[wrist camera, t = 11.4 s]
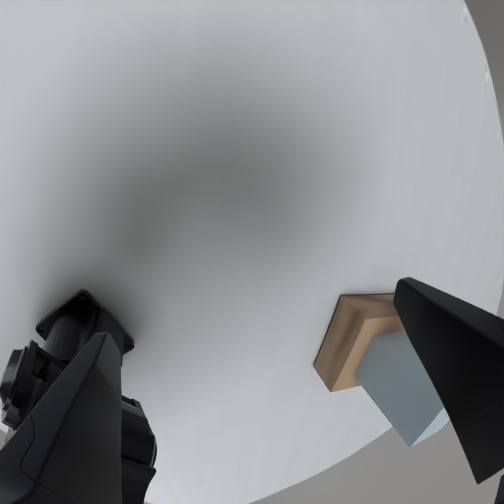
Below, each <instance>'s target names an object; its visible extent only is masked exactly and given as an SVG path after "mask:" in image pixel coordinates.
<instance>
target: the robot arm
mask: <svg viewBox="0 0 504 504" xmlns="http://www.w3.org/2000/svg"><path fill="white" fill-rule="evenodd" d="M81 296H84V297H85V299H83V298H81ZM393 304H394V307H395V309H396V312H397V314H398V316H399V318H400V320H401V322H402V325H403V327H404V329H405V331H406V334H407V336H408V338H409V340H410V342H411V344H412V346H413V348H414V350H415V352H416V353H417V355H418V357H419V359H420V361H421V363H422V364H423V366H424V368H425V370H426V372H427V374H428V376H429V378H430V380H431V382H432V384H433V385H434V387H435V389H436V391H437V393H438V395H439V397H440V399H441V402H442V404H443V406H444V408H445V410H446V412H447V414H448V416H449V418H450V420H451V422H452V425H453V427H454V429H455V431H456V434H457V436H458V438H459V441H460V443H461V446H462V448H463V450H464V453H465V455H466V458H467V460H468V463H469V465H470V467H471V470H472V473H473V475H474V478H475V480H476V483H477V484H480V483H481V482H483V481H485V480H486V479H488V478H489V477H491V476H493V475H494V474H496V473H497V472H499V471H500V470H502V469H503V468H504V319H502V318H500V317H498V316H495V315H494V314H492V313H489V312H487V311H485V310H483V309H481V308H479V307H476V306H474V305H472V304H470V303H468V302H465V301H463V300H461V299H459V298H457V297H454V296H452V295H450V294H448V293H445V292H443V291H441V290H439V289H436V288H434V287H432V286H430V285H427V284H425V283H423V282H420V281H418V280H416V279H413V278H411V277H406V278H402V279H400V280H399V281H398V282H397V285H396V289H395V293H394V297H393ZM40 328H42V329H43V330H41V329H40ZM36 331H37V333H38V334H39V335H40V336H41V337H42V338H43V339H44V340H45V341H46V342H45V345H44V348H43V349H42V348H40V347H39V346H38V344H37V343H36V342H34V341H33V340H31V341H30V343H29V345H28V347H26V346H25V347H24V349H22V350H13V352H12V354H11V357H10V359H9V361H8V364H7V366H6V369H5V372H4V374H3V377H2V381H1V384H0V397H1V399H2V402H3V403H2V423H4V424H5V425H7V426H9V429H8V433H7V437H6V440H5V446H4V447H3V448H2V449H1V450H0V504H143V503H144V498H145V494H146V491H147V488H148V486H149V483H150V482H151V480H152V478H153V477H154V475H155V473H156V469H155V468H153V466H154V463H155V460H156V455H157V445H156V438H155V436H154V434H153V432H152V430H151V428H150V426H149V424H148V420H147V418H146V416H145V414H144V412H143V410H142V407H141V405H140V402H139V401H136V400H134V399H129V398H127V397H125V396H123V395H122V391H121V367H122V359H123V355H124V354H125V353H127V352H129V351H130V350H132V349H133V348H134V341H133V339H132V338H130V337H129V336H128V335H127V334H126V333H125V332H124V329H123V328H122V327H121V326H120V325H119V323H118V322H117V321H116V320H115V319H114V318H113V317H112V316H111V315H110V314H109V313H108V312H107V311H106V310H105V309H103V308H101V307H100V306H99V304H98V303H97V302H96V301H95V300H94V299H93V298H92V297H91V296H90V294H89V293H88V292H86V291H84V290H81V291H79V292H77V293H76V294H75V295H74V296H72V297H71V298H70V299H68V300H67V301H66V302H64V303H63V304H62V305H60V306H59V307H58V308H57V309H55V310H54V311H53V312H51V313H50V314H49V315H48V316H46V317H45V318H44V319H43V320H41V321H40V322H39V323H38V324H37V326H36ZM127 343H129V344H130V345H127ZM494 504H504V474H503V475H502V476H501V479H500V484H499V488H498V492H497V496H496V499H495V503H494Z"/></svg>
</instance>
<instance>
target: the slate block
mask: <svg viewBox="0 0 504 504" xmlns="http://www.w3.org/2000/svg"><path fill="white" fill-rule="evenodd" d="M354 376H355V378H356V379H357V380H358V382H359V383H360V384H361V385H362V387H363V388H364V389H365V391H366V392H367V393H368V394H369V396H370V397H371V398H372V400H373V401H374V402H375V403H376V405H377V406H378V407H379V409H380V410H381V411H382V413H383V414H384V415H385V416H386V418H387V419H388V420H389V422H390V423H391V424H392V425H393V427H394V428H395V429H396V431H397V432H398V433H399V434H400V436H401V437H402V438H403V440H404V441H405V442H406V444H407V445H408V446H409V447H411V446H413V445H415V444H417V443H418V442H420V441H422V440H424V439H425V438H427V437H429V436H430V435H432V434H434V433H435V432H437V431H438V430H440V429H442V428H443V427H444V425H445V424H446V423H447V422H448V420H449V419H450V418H449V416H448V414H447V412H446V410H445V408H444V406H443V404H442V402H441V399H440V397H439V395H438V393H437V391H436V389H435V387H434V385H433V384H432V382H431V380H430V378H429V376H428V374H427V372H426V370H425V368H424V366H423V364H422V363H421V361H420V359H419V357H418V355H417V353H416V352H415V350H414V348H413V346H412V344H411V342H410V340H409V338H408V336H407V334H406V331H399V332H393V333H387V334H381V335H374V336H373V337H372V339H371V341H370V343H369V346H368V348H367V350H366V352H365V354H364V356H363V358H362V360H361V362H360V364H359V366H358V368H357V370H356V371H355V373H354Z"/></svg>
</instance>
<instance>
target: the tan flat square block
mask: <svg viewBox="0 0 504 504" xmlns="http://www.w3.org/2000/svg"><path fill="white" fill-rule="evenodd" d="M393 297H394V294H382V295H350V296H341V298H340V300H339V303H338V306H337V309H336V311H335V314H334V317H333V319H332V322H331V325H330V327H329V330H328V332H327V335H326V338H325V340H324V343H323V345H322V348H321V350H320V352H319V355H318V357H317V360H316V362H315V364H314V368H315V370H316V371H317V373H318V374H319V376H320V377H321V379H322V380H323V382H324V383H325V385H326V386H327V388H328V389H329V391H330V392H334V391H339V390H343V389H347V388H352V387H356V386H360V385H361V384H360V383H359V382H358V380H357V379H356V378H355V376H354V373H355V371H356V370H357V368H358V366H359V364H360V362H361V360H362V358H363V356H364V354H365V352H366V350H367V348H368V346H369V343H370V341H371V339H372V337H373V336H374V335H381V334H387V333H393V332H399V331H405V329H404V327H403V325H402V322H401V320H400V318H399V316H398V314H397V312H396V309H395V307H394V304H393Z"/></svg>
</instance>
